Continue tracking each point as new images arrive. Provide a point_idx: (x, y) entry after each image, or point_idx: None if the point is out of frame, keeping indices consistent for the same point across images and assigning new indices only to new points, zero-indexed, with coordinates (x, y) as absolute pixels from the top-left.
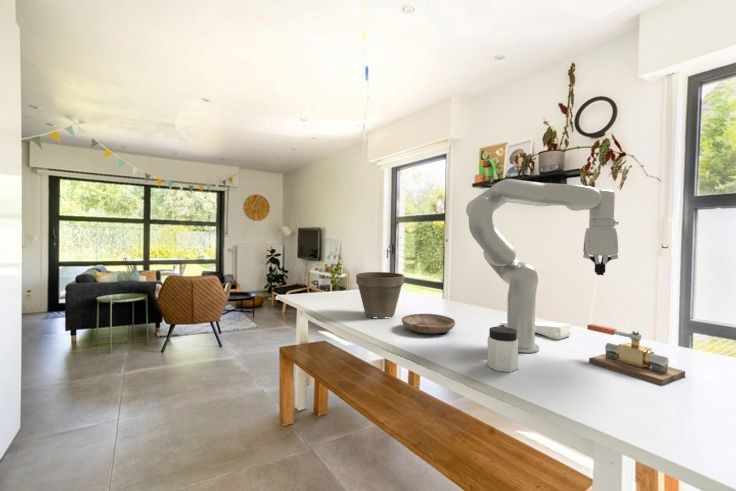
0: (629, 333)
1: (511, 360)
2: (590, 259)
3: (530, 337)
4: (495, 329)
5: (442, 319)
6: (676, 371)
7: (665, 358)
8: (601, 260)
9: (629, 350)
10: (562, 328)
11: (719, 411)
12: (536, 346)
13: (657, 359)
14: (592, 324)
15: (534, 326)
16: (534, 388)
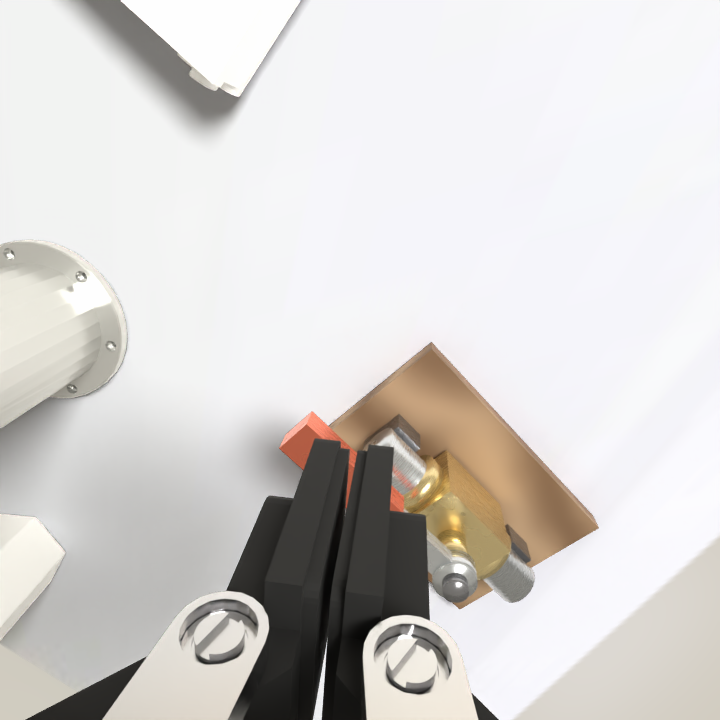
0: (439, 559)
1: (26, 609)
2: (44, 716)
3: (52, 393)
4: None
5: None
6: (561, 537)
7: (516, 598)
8: (364, 713)
9: None
10: (236, 60)
11: (502, 708)
12: (109, 335)
13: (491, 587)
14: (309, 434)
15: (32, 391)
16: (116, 659)
